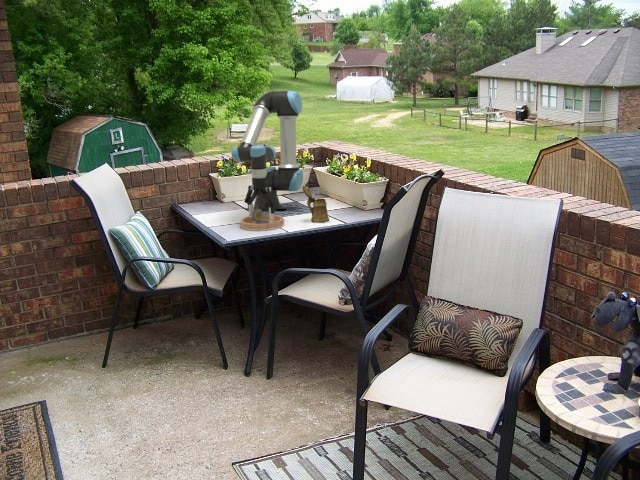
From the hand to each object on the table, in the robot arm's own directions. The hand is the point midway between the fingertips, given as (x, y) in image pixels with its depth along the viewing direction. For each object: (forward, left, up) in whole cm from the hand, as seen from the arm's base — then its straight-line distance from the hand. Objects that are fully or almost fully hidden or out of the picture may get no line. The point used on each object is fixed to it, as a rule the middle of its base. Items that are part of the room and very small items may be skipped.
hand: (261, 218), depth 355 cm
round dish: (0, 0, -4) cm, 4 cm away
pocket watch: (-1, 0, -3) cm, 3 cm away
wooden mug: (+18, +22, -4) cm, 29 cm away
